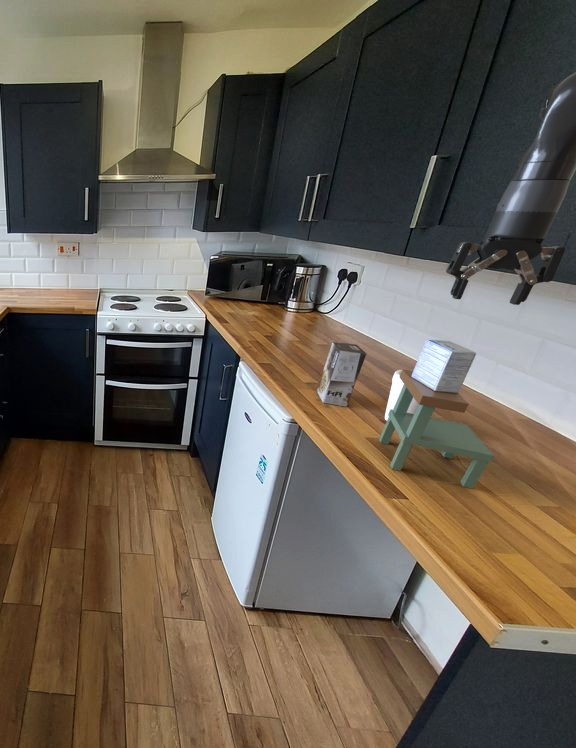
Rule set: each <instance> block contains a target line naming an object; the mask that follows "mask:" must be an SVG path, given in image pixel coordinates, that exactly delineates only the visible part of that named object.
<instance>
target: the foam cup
mask: <svg viewBox="0 0 576 748" xmlns="http://www.w3.org/2000/svg"><path fill="white" fill-rule="evenodd" d="M402 370H403V369H398V370H395V372H394V374H393V376H392V379H391V381H392V383H391V386H390V391H389V396H388V400H387V404H386V408H385V409H386V410H385V413H384V420H385V421H386V422H387V419H388V417H389V416H388V414H389V411H390V409H391V410H393V409H394V406H395V404H396V402H397V399H398V397H399V394H400V392H401V390H402V387H403V385H404V383H403V382H402V380H401V379H400V378H399V377H400V374H401V372H402ZM418 405H419V404H418V403H417V401H416V400H415V399H414V397H413V399H412V401H411V404H410V406H409V408H408V410H407V413H411V414H415V412H416V409H417V407H418Z"/></svg>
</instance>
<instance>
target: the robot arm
mask: <svg viewBox="0 0 576 748" xmlns="http://www.w3.org/2000/svg"><path fill="white" fill-rule="evenodd" d="M537 115H538V117H539V119H540V121H541V122H540V125H539V127H538V129H537V131H536V134H535V136H534V139H533V140H532V141H531V143H530V144H529V145H528V146H527V147H526V149H525V150H524V151H523V152H522V153H523V154H522V155H521V157H520V159H519V161H518V163H517V165H516V167H515V170H514V172H513V174H512V177H511V179H510V182H509V184H508V185H507V187H506V189H505V191H504V192H503V193H502V195H501V198H500V200H499V202H498V203H497V205H496V208H495V209H496V210H495V213H493V217H492V219H491V221H490V224H489V226H488V228H487V230H486V233H485V236H484V238H483V240H482V241H481V242H480V243H472V242H467V241H461V242H459V243H458V245H457V247H456V250H455V251H454V254H453V255H452V258H451V259H450V261H449V264H448V266H447V268H446V270H445V272H446V274H448V275H451V276H453V277H455V279H454V282H453V285H452V287H451V289H450V296H452V299H454V300H461V299H462V298H463V295H464V293H465V290H466V288H467V286H468V283H469V279H470V278H471V277H473V276H474V275H476V274H477V273H479V272H482V271H483V270H485V269H486V268H487V269H491V270H497V269H498V270H499V269H503V270H508V271H515V273H517V275H518V277H519V279H520V282H518V283H517V284H516V288H515V289H514V291H513V294H512V296H511V297H510V299H509V304H510V305H514V306H519V305H520V304H521V303H524V302H525V301H527V299H528V297H529V295H530V293H531V291H532V289H533V287H534V286H535V285H537V284H540V283H541V284H542V283H550V282H552V281H553V279H554V278H555V275H556V273H557V270H558V269H559V266H560V263H561V261H562V259H563V256H564V254H565V252H566V248H565V247H563V246H556V245H555V246H554V245H552V246H546V247H545V246H544V247H543V241H544V239H545V238H546V237H547V234H548V232H549V230H550V228H551V226H552V225H553V222H554V220H555V218H556V216H557V214H558V211H559V210H560V207H561V206H562V203H563V201H564V199H565V197H566V195H567V191H568V188H569V185H570V183H571V180H572V178H573V176H574V174H575V173H576V71H575V72H573V73H572V74H570V75H569V76H567V77H566V78H565V79H563V80H562V81H560V82H559V83H558V84H556V85H555V86H554V87H552V88H551V89H550V90H549V91H548V92H547V93H546V94H545V95H544V96H543V98H542V99H541V101H540V103H539V106H538V110H537ZM475 251H476V253H477V255H478V258H476V259H475V260H473V261H472V262H470V263H469V264H468V265H467V266H466V267H464V268H463V265H464V262H465V261H466V259H467V257H468V256H470V255H472V254H473V253H474V252H475ZM539 255H540V258H541V259H542V262H541V264H540V266H539V269H538V272H537V274H535V269H534V266H533V265H532V263H531V261H532V260H533V259H534V258H536V257H537V256H539ZM462 268H463V269H462Z"/></svg>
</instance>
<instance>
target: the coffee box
mask: <svg viewBox="0 0 576 748" xmlns="http://www.w3.org/2000/svg"><path fill="white" fill-rule="evenodd" d="M366 356H367V352H366V351H364V350H363V349H362V348H361V347H360V346H359V345H358V344H355V343H347V342H336V341H332V343H331V345H330V349H329V351H328V355H327V358H326V361H325V365H324V367H323V370H322V373H321V377H320V380H319V383H318V386H317V389H316V392H317V394H318V396H319V399H320V400H321V402H322V403H323V404H328V405H334V406H339V407H345V408H346V407H347V406H348V404H349V402H350V399H351V397H352V394H353V391H354V388H355V386H356V383H357V380H358V377H359V374H360V372H361V370H362V367H363V364H364V362H365V359H366Z"/></svg>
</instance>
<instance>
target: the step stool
mask: <svg viewBox="0 0 576 748" xmlns="http://www.w3.org/2000/svg"><path fill="white" fill-rule="evenodd" d="M401 370H402V372H401V374H400V377H399V378H400V379H401V380H402V382H403V383H404V385H403V387H402V390H401V392H400V394H399V397H398V399H397V402H396V404H395V406H394V409H393V410H391V409H390V411H389V414H388V416H389V417H388V419H387V421H386V422H385V424H384V427H383V429H382V431H381V434H380V436H379V439H378V441H379V443H380V444H384V445H389V444H390V441H391V439H392V437H393V435H394V432H395V431H396V433H397V435H398V437H399V439H400V442H399V444H398V446H397V448H396V451H395V453H394V455H393V458H392V459H391V462H390V464H389V465H390V469H391V470H394V471H398V472H401V471H402V468H403V466H404V464H405V462H406V460H407V458H408V455H409V453H410V451H411V449H412V447H413V446H415V447H421V448H425V449H429V450H434V451H439V452H441V455H442V457H443V458H446V459H450V460H453V459H454V456H455V455H457V456H461V457H466V458H470V459H472V460H471V462H470V463H469V466H468V467H467V469H466V470H465V473H464V474H463V476H462V478H461V479H460V482H459V483H460V484H461V486H462V487H463V488H468V489H471V490H474V488H475V486H476V485H477V483H478V481H479V480H480V477H481V476H482V474H483V473H484V470H486V467H487V465H488V463H492V461H493V459H494V456H495V454H493V453H492V451H490V449H489V448H488V447H487V445H485V443H484V442H483V441H482V440H481V439H480V438H479V437H478V435H477V434H476V433H475V431H473V430H472V428H471V427H470V426H469V425H468V424H467V423H461V422H457V421H451V420H447V419H442V418H436V417H432V416H433V414H434V411H435V410H436V409H441V410H445V411H450V412H457V413H462V414H465V413H466V410H467V409H468V406H469V405H470V404H469V402H467V400H466V399H465V398H464V397H463V396H462V395H461V394H460V392H458V393H450V392H439V391H434V390H433V389H431V388H430V387H428V386H426V385H425V384H423V383H421V382H420V381H418V380H416V379H415V378H413V377H412V373H413V371H414V370H410V369H401ZM413 397H414V399H415V400H416V401H417V403H418V404H419V405H418V407H417V409H416V412H415V414H411V413H407V410H408V408H409V406H410V404H411V401H412V399H413Z"/></svg>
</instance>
